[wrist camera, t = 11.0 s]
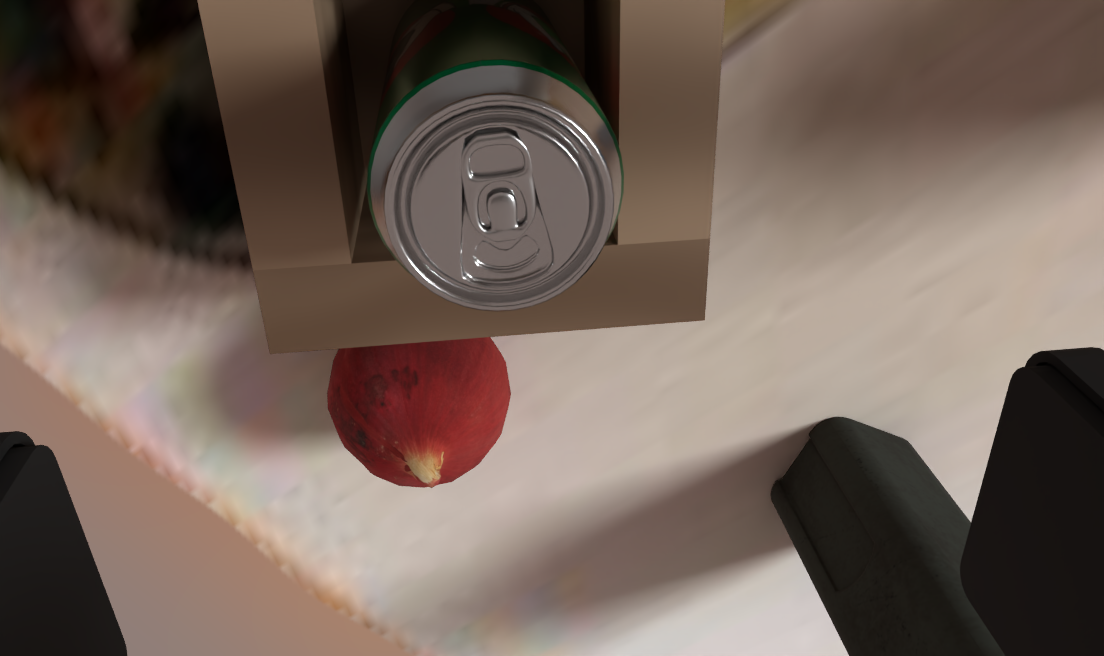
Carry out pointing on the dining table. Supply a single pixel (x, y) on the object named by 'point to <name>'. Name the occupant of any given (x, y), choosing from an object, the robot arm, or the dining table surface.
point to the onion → (420, 407)
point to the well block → (345, 145)
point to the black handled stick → (881, 544)
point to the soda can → (490, 156)
